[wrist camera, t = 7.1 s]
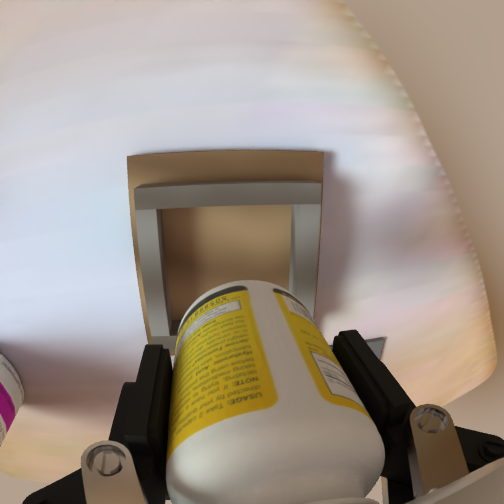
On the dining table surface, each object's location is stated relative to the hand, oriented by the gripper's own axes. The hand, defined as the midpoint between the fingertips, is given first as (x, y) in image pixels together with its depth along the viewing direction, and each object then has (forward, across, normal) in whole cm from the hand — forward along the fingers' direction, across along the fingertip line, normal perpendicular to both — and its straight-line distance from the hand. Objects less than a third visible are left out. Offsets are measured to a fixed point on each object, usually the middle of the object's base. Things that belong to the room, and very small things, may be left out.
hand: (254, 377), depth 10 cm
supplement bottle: (+3, 0, 0) cm, 3 cm away
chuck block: (+12, 0, 0) cm, 12 cm away
